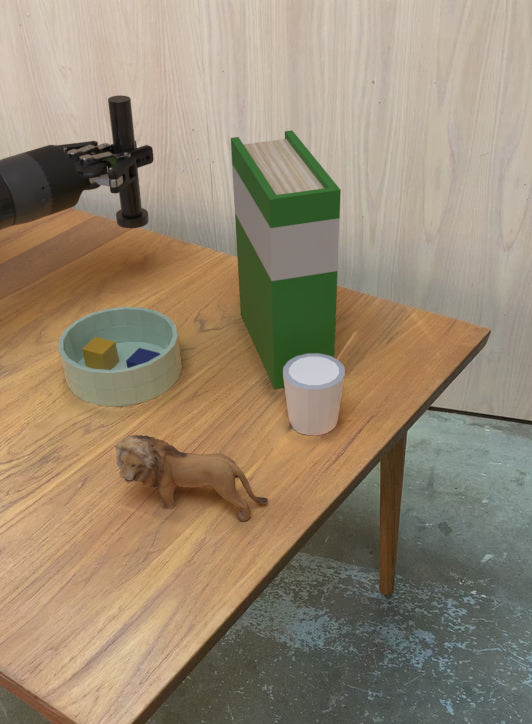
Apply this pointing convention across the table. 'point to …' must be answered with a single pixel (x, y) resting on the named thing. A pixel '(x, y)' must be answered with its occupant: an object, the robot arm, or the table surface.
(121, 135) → the black flashlight
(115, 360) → the mustard block
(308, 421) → the white cup
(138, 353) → the navy block
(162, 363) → the bowl
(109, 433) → the table surface
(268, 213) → the hardback book
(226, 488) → the lion figurine
